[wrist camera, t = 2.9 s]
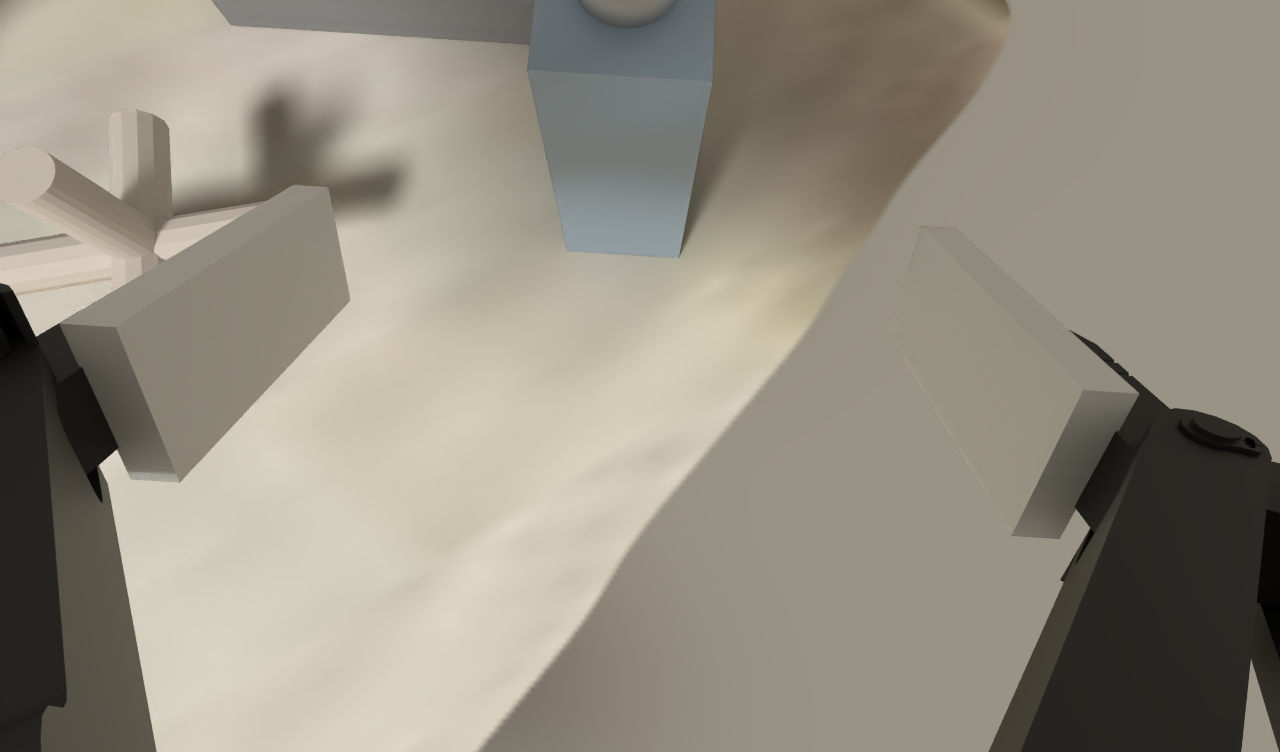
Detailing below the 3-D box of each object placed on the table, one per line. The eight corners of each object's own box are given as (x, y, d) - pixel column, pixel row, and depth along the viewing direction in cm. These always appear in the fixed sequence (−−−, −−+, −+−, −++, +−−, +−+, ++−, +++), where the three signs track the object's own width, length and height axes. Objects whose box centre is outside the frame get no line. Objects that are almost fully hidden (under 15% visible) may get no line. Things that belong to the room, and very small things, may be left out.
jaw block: (567, 251, 29) (521, 43, 17) (577, 131, 31) (542, -146, 18) (678, 257, 29) (717, 55, 17) (684, 137, 31) (724, -134, 18)
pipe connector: (112, 427, 27) (-174, 373, 18) (107, 210, 29) (-150, 53, 20) (355, 383, 28) (209, 307, 18) (334, 173, 30) (192, 4, 20)
